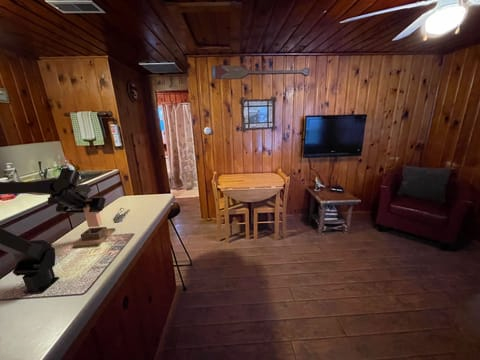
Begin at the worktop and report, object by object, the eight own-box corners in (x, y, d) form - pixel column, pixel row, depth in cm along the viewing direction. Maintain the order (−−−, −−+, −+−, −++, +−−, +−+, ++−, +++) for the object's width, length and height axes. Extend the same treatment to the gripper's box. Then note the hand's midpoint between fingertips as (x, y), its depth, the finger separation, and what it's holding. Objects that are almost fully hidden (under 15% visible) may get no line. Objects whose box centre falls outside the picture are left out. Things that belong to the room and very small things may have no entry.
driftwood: (121, 223, 112) (121, 219, 111) (108, 225, 110) (107, 221, 110) (132, 209, 131) (131, 206, 130) (120, 210, 130) (120, 207, 129)
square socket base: (98, 246, 89) (96, 237, 88) (73, 248, 89) (70, 239, 88) (115, 230, 103) (113, 222, 102) (93, 231, 102) (91, 224, 101)
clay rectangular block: (99, 226, 93) (92, 201, 89) (88, 227, 93) (81, 202, 89) (102, 224, 95) (96, 199, 92) (91, 224, 95) (85, 200, 92)
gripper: (97, 179, 84) (118, 194, 97) (53, 181, 84) (80, 196, 97) (89, 203, 78) (112, 216, 92) (41, 206, 78) (71, 218, 92)
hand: (94, 211), depth 93 cm, fingers closed on clay rectangular block, 5 cm apart
